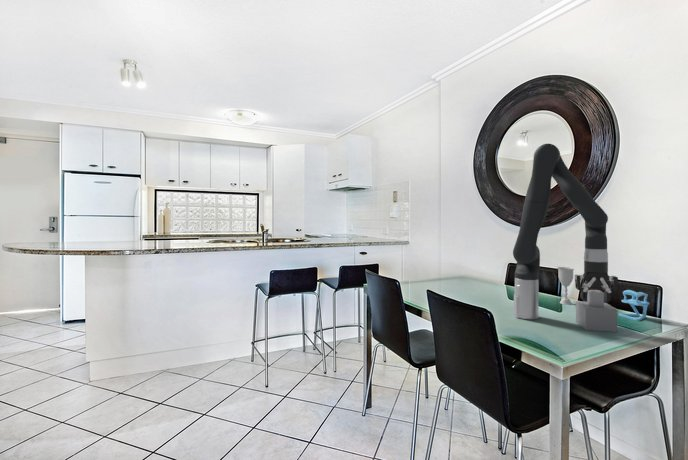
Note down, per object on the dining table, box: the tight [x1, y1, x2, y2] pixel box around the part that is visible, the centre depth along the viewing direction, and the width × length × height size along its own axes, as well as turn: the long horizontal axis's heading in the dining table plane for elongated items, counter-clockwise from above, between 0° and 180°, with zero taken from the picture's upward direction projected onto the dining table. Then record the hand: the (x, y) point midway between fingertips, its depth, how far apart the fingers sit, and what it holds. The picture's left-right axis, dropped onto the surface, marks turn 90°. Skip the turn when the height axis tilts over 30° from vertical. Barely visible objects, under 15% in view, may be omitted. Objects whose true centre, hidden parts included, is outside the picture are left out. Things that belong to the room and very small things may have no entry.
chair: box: [618, 289, 650, 322], centre depth 141 cm, size 8×8×12 cm
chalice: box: [557, 266, 575, 305], centre depth 166 cm, size 7×7×18 cm
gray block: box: [575, 289, 618, 333], centre depth 130 cm, size 10×10×14 cm
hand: (595, 301), depth 130 cm, fingers open, 6 cm apart
